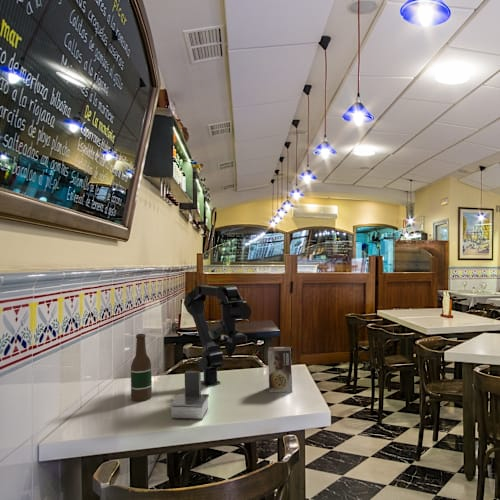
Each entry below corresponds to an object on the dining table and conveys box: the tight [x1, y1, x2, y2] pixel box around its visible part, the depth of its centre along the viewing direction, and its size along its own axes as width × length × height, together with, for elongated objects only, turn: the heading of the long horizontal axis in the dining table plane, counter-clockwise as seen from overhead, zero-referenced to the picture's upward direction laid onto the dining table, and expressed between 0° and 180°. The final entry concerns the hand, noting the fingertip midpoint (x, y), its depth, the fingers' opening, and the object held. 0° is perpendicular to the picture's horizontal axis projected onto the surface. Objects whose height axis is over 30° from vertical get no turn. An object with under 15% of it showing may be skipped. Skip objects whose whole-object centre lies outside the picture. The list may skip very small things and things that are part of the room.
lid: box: [170, 370, 210, 407], centre depth 125 cm, size 10×11×9 cm
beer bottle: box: [130, 333, 153, 403], centre depth 141 cm, size 8×8×24 cm
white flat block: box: [170, 398, 209, 421], centre depth 124 cm, size 9×10×4 cm
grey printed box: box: [267, 346, 293, 393], centre depth 146 cm, size 9×6×16 cm
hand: (229, 357), depth 147 cm, fingers closed
